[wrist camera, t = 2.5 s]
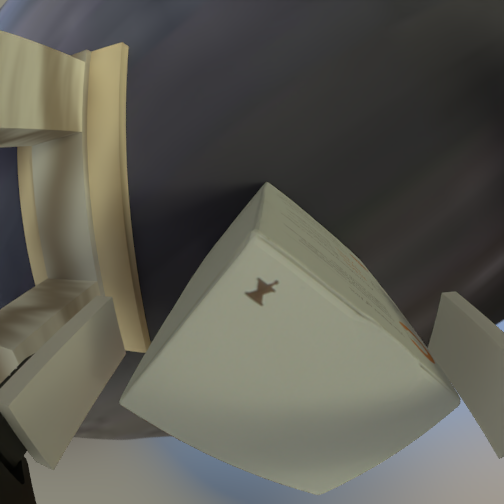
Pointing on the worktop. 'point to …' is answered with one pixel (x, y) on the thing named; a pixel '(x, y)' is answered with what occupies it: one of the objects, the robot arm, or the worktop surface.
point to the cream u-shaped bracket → (69, 191)
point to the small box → (289, 357)
